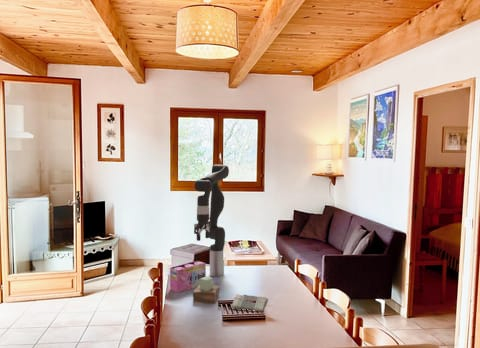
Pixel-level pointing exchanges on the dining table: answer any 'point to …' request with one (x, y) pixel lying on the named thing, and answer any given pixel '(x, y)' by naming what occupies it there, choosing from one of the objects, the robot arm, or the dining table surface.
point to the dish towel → (242, 304)
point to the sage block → (206, 283)
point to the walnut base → (206, 295)
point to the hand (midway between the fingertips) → (202, 239)
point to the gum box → (186, 276)
